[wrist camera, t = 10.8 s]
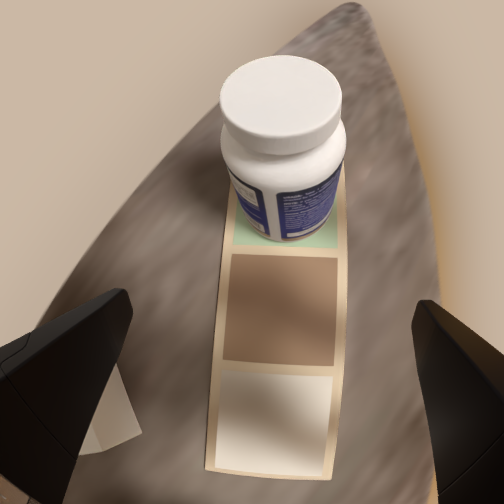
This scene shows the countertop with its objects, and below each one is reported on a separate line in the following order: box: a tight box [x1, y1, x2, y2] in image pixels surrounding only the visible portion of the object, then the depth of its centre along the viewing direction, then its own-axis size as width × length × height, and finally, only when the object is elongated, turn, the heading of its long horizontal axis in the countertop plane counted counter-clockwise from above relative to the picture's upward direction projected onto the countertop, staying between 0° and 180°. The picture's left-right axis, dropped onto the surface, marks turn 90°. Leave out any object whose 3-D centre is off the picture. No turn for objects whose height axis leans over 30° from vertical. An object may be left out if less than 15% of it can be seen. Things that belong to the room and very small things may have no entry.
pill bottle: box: [219, 55, 346, 242], centre depth 16 cm, size 6×6×10 cm
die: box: [79, 364, 142, 455], centre depth 16 cm, size 5×5×5 cm
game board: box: [205, 160, 347, 480], centre depth 18 cm, size 21×8×1 cm, turn 176°
